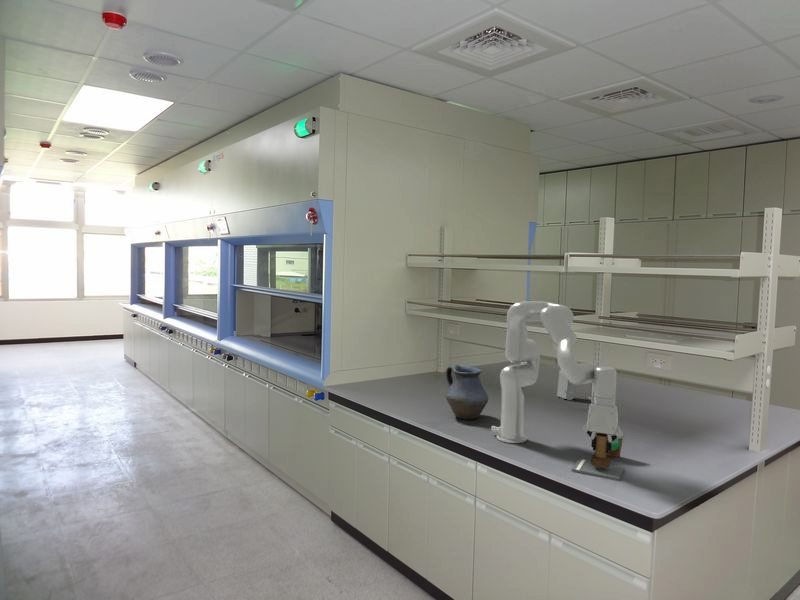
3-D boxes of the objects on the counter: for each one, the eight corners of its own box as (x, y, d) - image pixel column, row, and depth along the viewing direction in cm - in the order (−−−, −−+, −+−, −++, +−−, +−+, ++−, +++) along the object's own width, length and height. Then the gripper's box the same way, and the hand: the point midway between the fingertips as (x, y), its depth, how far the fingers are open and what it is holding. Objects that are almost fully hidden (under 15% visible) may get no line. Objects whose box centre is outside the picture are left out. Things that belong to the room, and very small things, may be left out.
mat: (571, 471, 194) (571, 468, 194) (578, 461, 205) (578, 458, 205) (619, 480, 186) (619, 477, 186) (623, 469, 197) (623, 467, 197)
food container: (587, 454, 212) (588, 429, 212) (591, 450, 217) (592, 426, 217) (620, 461, 205) (621, 436, 205) (623, 457, 210) (625, 432, 210)
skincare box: (556, 397, 308) (557, 370, 307) (566, 396, 311) (567, 369, 310) (566, 401, 300) (567, 372, 299) (576, 400, 303) (577, 372, 302)
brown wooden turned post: (609, 469, 191) (612, 419, 190) (590, 466, 193) (592, 417, 192) (610, 463, 197) (612, 414, 196) (591, 460, 199) (593, 412, 198)
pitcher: (476, 425, 248) (478, 372, 247) (434, 417, 260) (436, 366, 258) (493, 416, 265) (495, 365, 264) (454, 408, 277) (455, 360, 276)
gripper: (577, 399, 194) (575, 449, 196) (627, 406, 186) (624, 458, 188) (581, 395, 201) (579, 443, 202) (630, 402, 193) (627, 452, 194)
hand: (601, 450), depth 195 cm, fingers closed on brown wooden turned post, 3 cm apart
